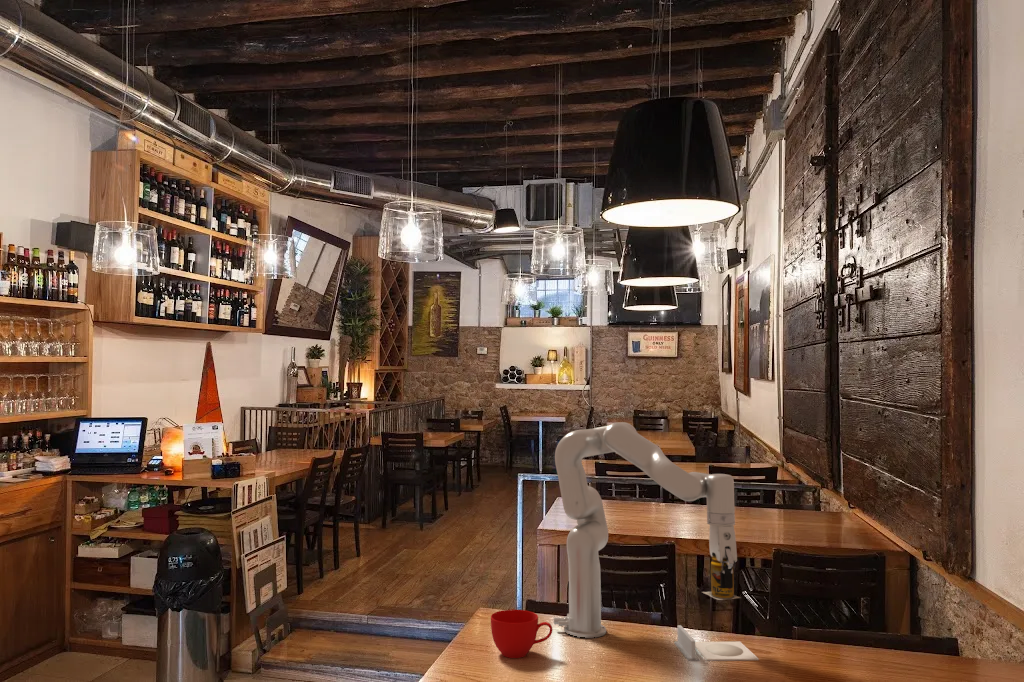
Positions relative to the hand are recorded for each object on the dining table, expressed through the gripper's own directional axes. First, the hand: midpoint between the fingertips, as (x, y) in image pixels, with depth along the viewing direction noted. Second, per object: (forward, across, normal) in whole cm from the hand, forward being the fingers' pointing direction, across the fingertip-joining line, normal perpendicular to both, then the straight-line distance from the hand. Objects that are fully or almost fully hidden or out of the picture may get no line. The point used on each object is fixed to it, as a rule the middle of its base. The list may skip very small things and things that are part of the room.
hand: (722, 584), depth 197 cm
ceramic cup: (+18, -1, +56) cm, 59 cm away
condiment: (+4, +1, 0) cm, 4 cm away
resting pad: (+18, 0, 0) cm, 18 cm away
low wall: (+18, 0, +11) cm, 21 cm away
